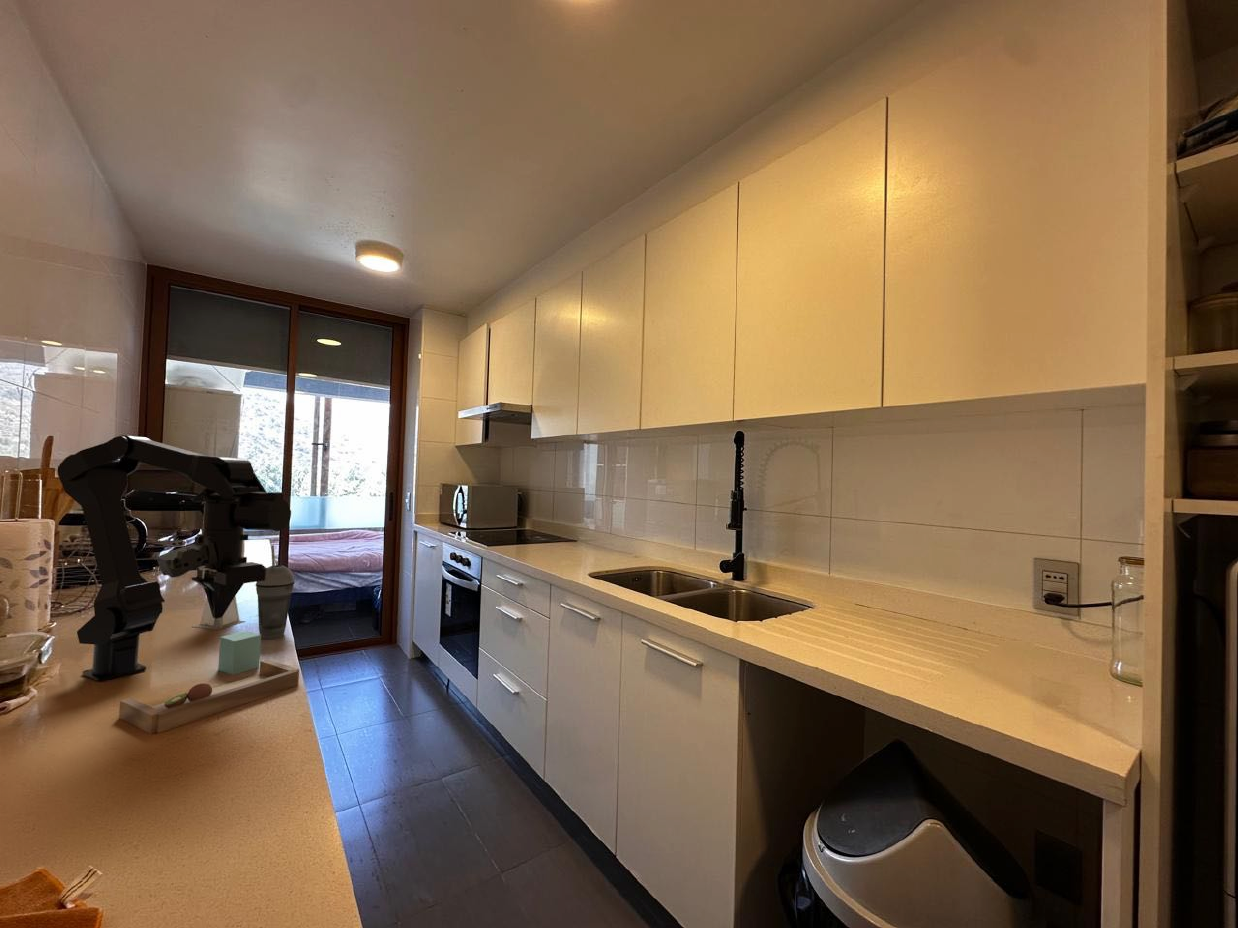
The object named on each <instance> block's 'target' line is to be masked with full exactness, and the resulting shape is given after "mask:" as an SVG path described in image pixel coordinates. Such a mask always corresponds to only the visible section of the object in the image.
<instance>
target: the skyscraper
mask: <svg viewBox="0 0 1238 928" xmlns="http://www.w3.org/2000/svg"><path fill="white" fill-rule="evenodd" d="M244 530H245V529H244ZM244 530H243V534H245V533H244V532H245V531H244ZM245 544H246V543H245V540H243V545H242V556H243V557H245ZM236 596H237V595H236ZM236 596H235V597H234V599H233V600H232V602H231V604H230V605H229V607H228V608H227V610H226V612H225V613H224V615H223V617H221V618H217V619H215V618H213V616H212V613H211V610H210V606H209V603H208V599H207V598H206V601H205V605H204V608H203V611H202V615H201V619H200V623H199V624H197V625H192V626H191V628H197V629H205V630H212V631H213V630H215V631H216V630H217V631H219V630H223V629H225V628H229V627H232V626H236V625H239V624H243V623H245V622H246V621H245V620H240V614H239V609H238V603H237V597H236Z"/></svg>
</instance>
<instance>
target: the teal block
mask: <svg viewBox="0 0 1238 928" xmlns="http://www.w3.org/2000/svg"><path fill="white" fill-rule="evenodd" d="M261 641H262V639H261V635H260V634H259V633H256V632H254V631H249V630H244V631H241V632H237V633H232V634H227V635H223V636H220V639H219V651H218V655H219V656H218V665H217V670H218V671H221V672H223V673H226V674H229V675H231V676H233V675H236V674H237V675H238V674H240V673H243V672H246V671H251V670H253V669H258V668H260V661H261V658H260V656H261V645H262V644H261Z"/></svg>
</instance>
